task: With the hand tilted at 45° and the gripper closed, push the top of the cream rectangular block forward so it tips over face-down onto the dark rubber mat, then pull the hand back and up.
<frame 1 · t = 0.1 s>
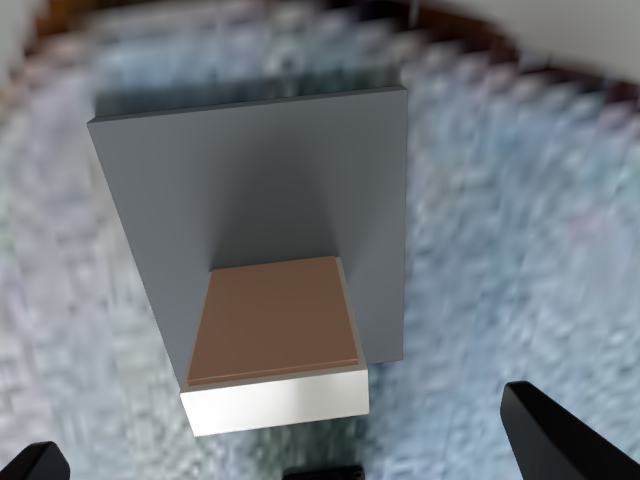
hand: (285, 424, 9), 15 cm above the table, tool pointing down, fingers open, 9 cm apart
mat: (274, 254, 24), on the table
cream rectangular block: (277, 283, 24), point 1 cm above the table, touching mat
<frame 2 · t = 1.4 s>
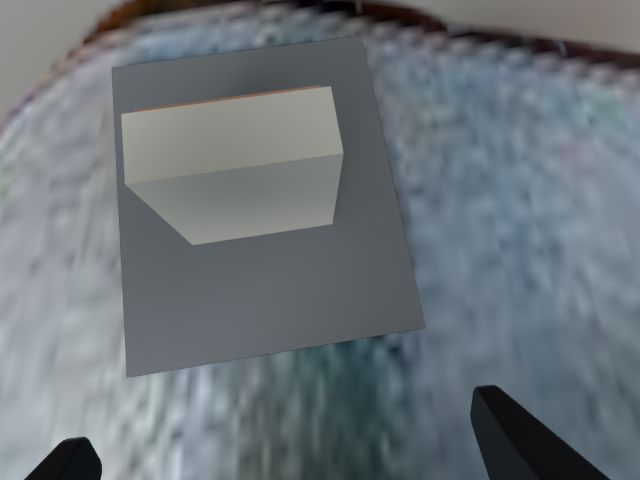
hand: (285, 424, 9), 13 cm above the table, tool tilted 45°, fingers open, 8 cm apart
mat: (259, 194, 23), on the table
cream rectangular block: (260, 211, 22), point 1 cm above the table, touching mat
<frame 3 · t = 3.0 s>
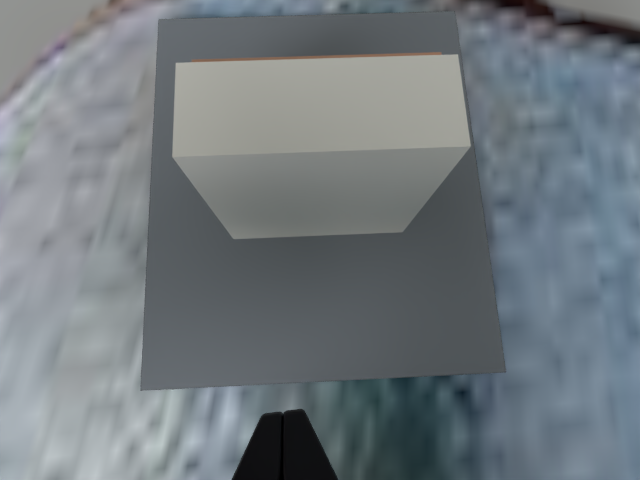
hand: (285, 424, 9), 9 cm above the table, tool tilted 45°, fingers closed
mat: (315, 187, 19), on the table
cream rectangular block: (317, 206, 18), point 1 cm above the table, touching mat
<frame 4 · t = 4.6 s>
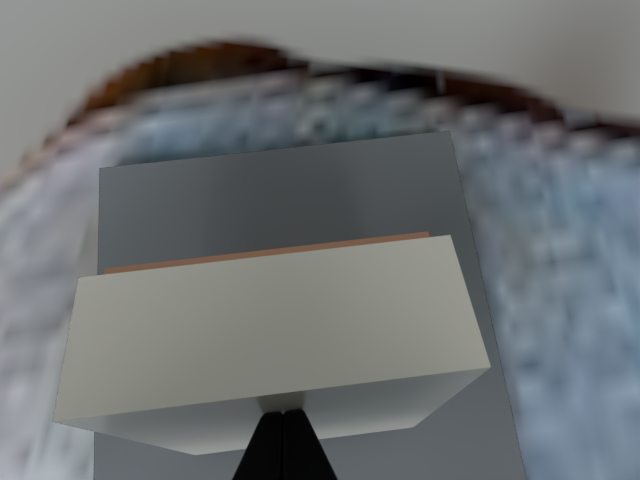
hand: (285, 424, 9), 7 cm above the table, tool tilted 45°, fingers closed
mat: (299, 362, 16), on the table
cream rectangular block: (301, 400, 14), point 1 cm above the table, tilted 14°, touching mat
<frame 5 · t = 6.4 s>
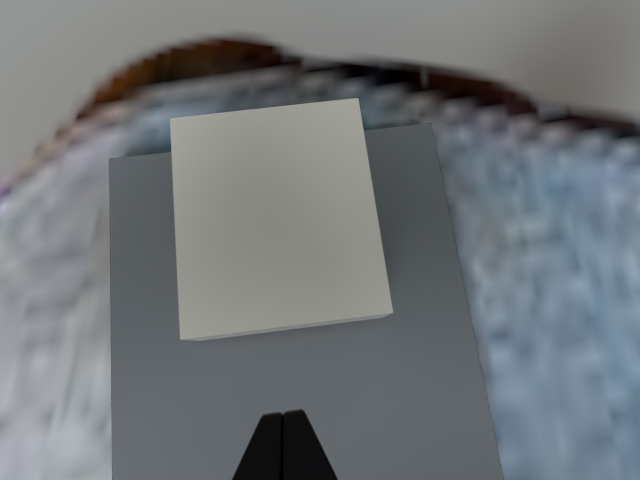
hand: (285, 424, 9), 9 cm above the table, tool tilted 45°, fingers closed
mat: (294, 334, 18), on the table
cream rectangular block: (289, 327, 15), point 3 cm above the table, tilted 90°, touching mat
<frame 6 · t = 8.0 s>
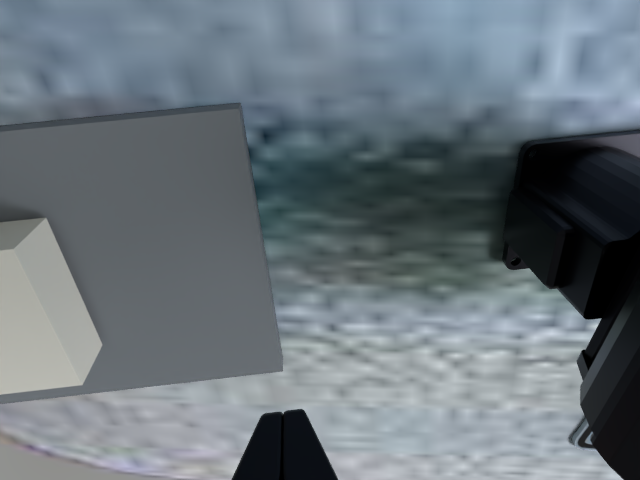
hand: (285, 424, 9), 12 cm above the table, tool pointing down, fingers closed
mat: (91, 270, 21), on the table
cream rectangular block: (64, 304, 18), point 3 cm above the table, tilted 90°, touching mat
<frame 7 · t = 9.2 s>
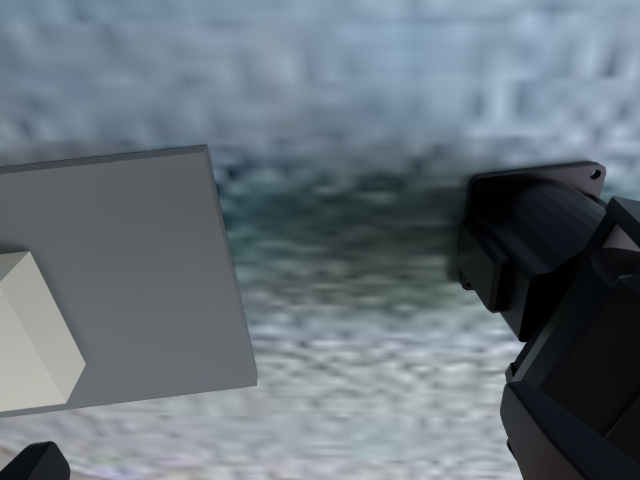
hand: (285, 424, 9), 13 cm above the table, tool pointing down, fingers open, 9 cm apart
mat: (74, 295, 22), on the table
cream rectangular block: (48, 329, 20), point 3 cm above the table, tilted 90°, touching mat
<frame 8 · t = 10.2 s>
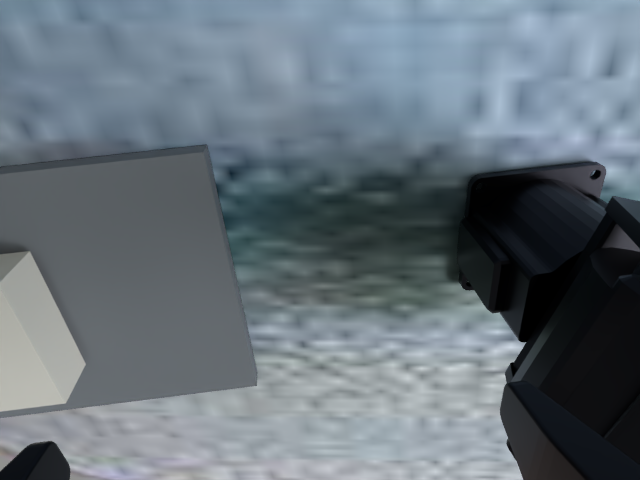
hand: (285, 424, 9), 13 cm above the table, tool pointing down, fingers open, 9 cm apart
mat: (74, 295, 22), on the table
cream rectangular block: (48, 329, 20), point 3 cm above the table, tilted 90°, touching mat
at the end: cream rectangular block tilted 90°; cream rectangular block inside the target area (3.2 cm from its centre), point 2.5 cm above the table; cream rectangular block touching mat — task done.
